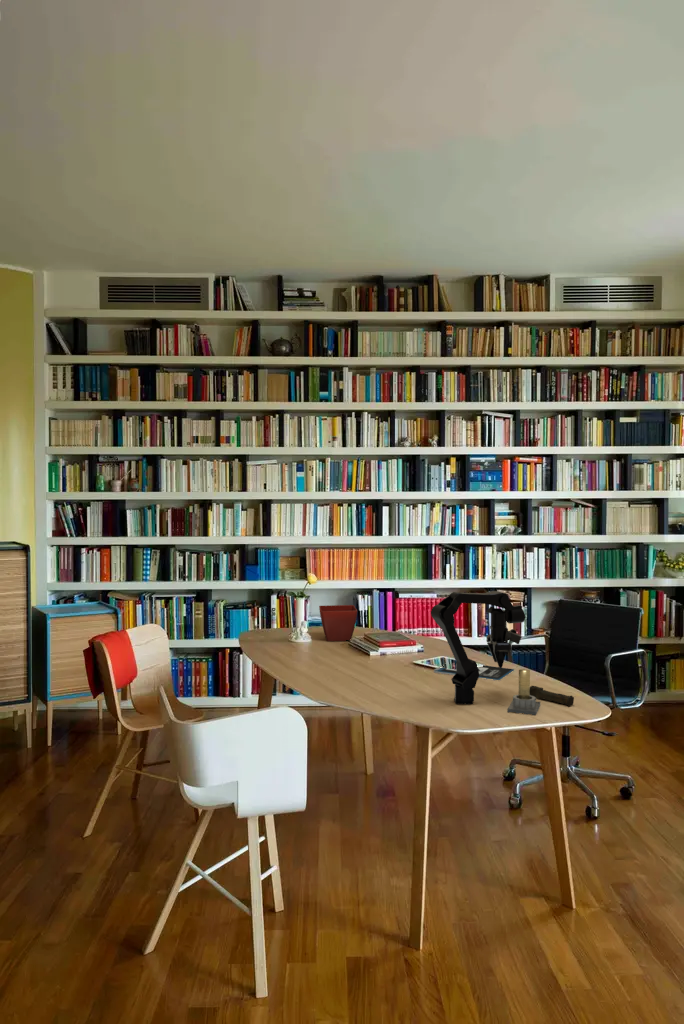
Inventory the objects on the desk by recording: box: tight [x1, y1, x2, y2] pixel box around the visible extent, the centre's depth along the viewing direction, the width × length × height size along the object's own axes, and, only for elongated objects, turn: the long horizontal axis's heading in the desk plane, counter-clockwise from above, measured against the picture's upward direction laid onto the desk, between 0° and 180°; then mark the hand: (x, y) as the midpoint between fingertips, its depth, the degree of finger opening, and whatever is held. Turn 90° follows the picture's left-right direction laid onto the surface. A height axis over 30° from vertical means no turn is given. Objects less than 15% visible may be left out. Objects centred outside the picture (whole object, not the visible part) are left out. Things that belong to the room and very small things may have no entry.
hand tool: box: [530, 685, 575, 708], centre depth 293 cm, size 19×4×5 cm, turn 40°
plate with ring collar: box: [506, 693, 541, 716], centre depth 282 cm, size 10×14×4 cm
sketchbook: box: [433, 664, 515, 681], centre depth 340 cm, size 22×30×2 cm
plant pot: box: [318, 604, 358, 642], centre depth 412 cm, size 19×19×17 cm
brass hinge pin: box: [518, 668, 531, 699], centre depth 282 cm, size 4×4×13 cm
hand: (498, 664), depth 296 cm, fingers open, 9 cm apart
